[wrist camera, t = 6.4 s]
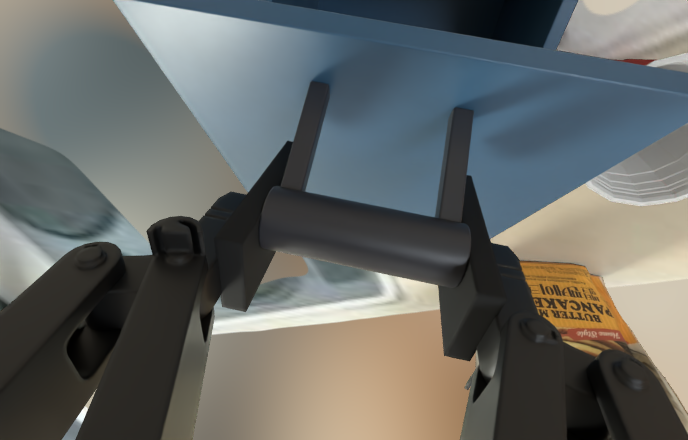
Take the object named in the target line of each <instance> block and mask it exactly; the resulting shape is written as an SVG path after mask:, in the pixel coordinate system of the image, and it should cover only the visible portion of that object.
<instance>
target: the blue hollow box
mask: <svg viewBox="0 0 688 440" xmlns="http://www.w3.org/2000/svg"><path fill="white" fill-rule="evenodd" d="M263 1H269V2H274V3H280V4H286V5H292V6H298V7H304V8H310V9H316V10H322V11H327V12H333V13H339V14H345V15H351V16H357V17H363V18H369V19H375V20H380V21H386V22H392V23H398V24H404V25H410V26H416V27H422V28H428V29H433V30H439V31H445V32H451V33H457V34H463V35H469V36H475V37H480V38H486V39H492V40H498V41H504V42H510V43H516V44H522V45H528V46H533V47H539V48H545V49H551V50H556V49H557V46H558V44H559V42H560V40H561V38H562V35H563V33H564V31H565V29H566V26H567V24H568V22H569V20H570V18H571V15H572V13H573V11H574V9H575V6H576V4H577V2H578V0H263Z"/></svg>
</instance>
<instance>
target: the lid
mask: <svg viewBox="0 0 688 440" xmlns="http://www.w3.org/2000/svg"><path fill="white" fill-rule="evenodd" d="M113 1H114V3H115V4H116V5H117V7H118V8H119V10H120V11H121V13H122V14H123V15H124V17H125V18H126V20H127V21H128V23H129V24H130V25H131V27H132V28H133V29H134V31H135V33H136V34H137V35H138V37H139V38H140V40H141V41H142V43H143V44H144V45H145V47H146V48H147V50H148V51H149V52H150V54H151V55H152V56H153V58H154V60H155V61H156V62H157V64H158V65H159V67H160V68H161V69H162V71H163V72H164V74H165V75H166V77H167V78H168V79H169V81H170V82H171V84H172V85H173V87H174V88H175V90H176V91H177V92H178V94H179V95H180V96H181V98H182V99H183V101H184V102H185V104H186V105H187V107H188V108H189V109H190V111H191V112H192V114H193V115H194V116H195V118H196V119H197V121H198V122H199V124H200V125H201V127H202V128H203V129H204V131H205V132H206V134H207V135H208V137H209V138H210V139H211V141H212V142H213V144H214V145H215V146H216V148H217V149H218V151H219V152H220V153H221V155H222V156H223V158H224V159H225V161H226V162H227V164H228V165H229V166H230V168H231V169H232V171H233V172H234V174H235V175H236V176H237V178H238V179H239V181H240V182H241V184H242V185H243V186H244V188H245V189H246V191H247V192H249V191H250V190H251V188H252V187H253V186H254V184H255V183H256V182H257V180H258V179H259V178H260V176H261V175H262V174H263V172H264V171H265V170H266V168H267V167H268V166H269V165H270V163H271V162H272V161H273V159H274V158H275V157H276V155H277V154H278V153H279V151H280V150H281V149H282V147H283V146H284V145H285V143H286V142H287V141H292V142H293V144H292V148H291V151H290V155H289V158H288V162H287V165H286V169H285V172H284V176H283V179H282V183H281V186H274V187H273V188H272V189H271V190H270V192H269V193H268V195H267V197H266V200H265V202H264V205H263V209H262V212H261V217H260V223H259V243H260V246H261V247H262V248H264V249H268V250H273V251H278V252H283V253H287V254H293V255H297V256H302V257H307V258H311V259H316V260H321V261H326V262H330V263H335V264H340V265H345V266H349V267H354V268H359V269H364V270H369V271H373V272H378V273H383V274H388V275H392V276H397V277H402V278H407V279H411V280H416V281H421V282H426V283H431V284H435V285H440V286H445V287H450V288H455V287H457V286H458V285H459V284H460V283H461V281H462V279H463V277H464V275H465V272H466V269H467V266H468V262H469V257H470V250H471V233H470V229H469V226H468V225H467V224H465V223H461V220H462V211H463V203H464V194H465V185H466V176H467V175H470V176H472V180H473V183H474V187H475V190H476V193H477V197H478V200H479V204H480V207H481V211H482V214H483V217H484V221H485V224H486V228H487V231H488V234H489V238H490V239H491V238H493V237H494V236H496V235H498V234H499V233H501V232H503V231H504V230H506V229H508V228H510V227H511V226H513V225H515V224H516V223H518V222H520V221H522V220H523V219H525V218H527V217H528V216H530V215H532V214H533V213H535V212H537V211H539V210H540V209H542V208H544V207H545V206H547V205H549V204H551V203H552V202H554V201H556V200H557V199H559V198H561V197H562V196H564V195H566V194H568V193H569V192H571V191H573V190H574V189H576V188H578V187H580V186H581V185H583V184H585V183H586V182H588V181H590V180H591V179H593V178H595V177H597V176H598V175H600V174H602V173H603V172H605V171H607V170H609V169H610V168H612V167H614V166H615V165H617V164H619V163H620V162H622V161H624V160H626V159H627V158H629V157H631V156H632V155H634V154H636V153H638V152H639V151H641V150H643V149H644V148H646V147H648V146H649V145H651V144H653V143H655V142H656V141H658V140H660V139H661V138H663V137H665V136H667V135H668V134H670V133H672V132H673V131H675V130H677V129H678V128H680V127H682V126H684V125H685V124H687V123H688V73H687V72H681V71H675V70H669V69H663V68H657V67H651V66H645V65H639V64H634V63H628V62H622V61H616V60H610V59H604V58H598V57H592V56H586V55H581V54H575V53H569V52H563V51H557V50H551V49H545V48H539V47H533V46H528V45H522V44H516V43H510V42H504V41H498V40H492V39H486V38H480V37H475V36H469V35H463V34H457V33H451V32H445V31H439V30H433V29H428V28H422V27H416V26H410V25H404V24H398V23H392V22H386V21H380V20H375V19H369V18H363V17H357V16H351V15H345V14H339V13H333V12H327V11H322V10H316V9H310V8H304V7H298V6H292V5H286V4H280V3H274V2H269V1H263V0H113Z"/></svg>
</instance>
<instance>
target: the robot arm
mask: <svg viewBox="0 0 688 440" xmlns="http://www.w3.org/2000/svg"><path fill="white" fill-rule="evenodd" d="M292 144H293V142H292V141H287V142H286V143H285V145H284V146H283V147H282V149H281V150H280V151H279V153H278V154H277V155H276V157H275V158H274V159H273V161H272V162H271V163H270V165H269V166H268V167H267V168H266V170H265V171H264V172H263V174H262V175H261V176H260V178H259V179H258V180H257V182H256V183H255V184H254V186H253V187H252V188H251V190H250V191H249V192H248V194H247V195H244V194H240V193H235V192H229V193H228V194H226V195H224V196H222V197H220V198H219V199H218V200H217V201H216V202H215V203H214V204H213V206H212V207H211V209H209V210H208V211H207V212H206V214H205V216H203V217H202V218H201V219H200V220H199V222H198V221H197V220H195V219H193V218H190V217H183V216H177V217H169V218H166V219H162V220H159V221H158V222H156V223H154V224H153V225H151V227H150V228H149V229H148V230H147V235H148V238H149V242H150V246H151V250H152V254H153V255H146V256H122V253H121V250H120V249H119V248H118V247H117V246H116V245H115V244H112V243H109V242H94V243H88V244H84V245H82V246H79V247H77V248H74V249H73V250H71V251H70V252H68V253H67V254H65V255H64V256H63V257H62V258H61V259H60V260H59V261H57V262H56V263H55V264H54V265H53V266H52V267H51V268H50V269H49V270H47V271H46V272H45V273H44V274H43V275H42V276H41V277H40V278H38V279H37V280H36V281H35V282H34V283H33V284H32V285H31V286H29V287H28V288H27V289H26V290H25V291H24V292H23V293H22V294H21V295H19V296H18V297H17V298H16V299H15V300H14V301H13V302H12V303H10V304H9V305H8V306H7V307H6V308H5V309H4V310H3V311H1V312H0V440H62V438H63V437H64V435H65V434H66V432H67V431H68V430H69V428H70V427H71V425H72V424H73V422H74V421H75V419H76V418H77V416H78V415H79V414H80V412H81V411H82V409H83V408H84V406H85V405H86V403H87V402H88V400H89V399H90V397H91V396H92V395H93V393H94V392H95V390H96V389H97V390H96V392H95V394H94V397H93V399H92V402H91V404H90V406H89V409H88V411H87V413H86V416H85V418H84V421H83V423H82V425H81V428H80V430H79V433H78V435H77V437H76V440H192V439H193V433H194V428H195V423H196V417H197V412H198V406H199V401H200V395H201V389H202V384H203V378H204V373H205V367H206V361H207V356H208V350H209V345H210V340H211V334H212V328H213V323H214V317H215V316H214V305H215V304H216V302H217V300H218V299H219V297H220V295H221V302H222V307H225V308H230V309H235V310H239V311H244V312H246V311H247V309H248V307H249V305H250V303H251V301H252V299H253V297H254V295H255V293H256V291H257V289H258V287H259V285H260V283H261V281H262V278H263V277H264V274H265V273H266V270H267V268H268V266H269V264H270V262H271V260H272V258H273V256H274V254H275V252H276V251H273V250H268V249H264V248H262V247H261V246H260V243H259V223H260V217H261V212H262V209H263V205H264V202H265V200H266V197H267V195H268V193H269V192H270V190H271V189H272V188H273V187H274V186H281V183H282V179H283V176H284V172H285V169H286V165H287V162H288V158H289V155H290V151H291V148H292ZM461 223H465V224H467V225H468V226H469V229H470V233H471V250H470V257H469V262H468V266H467V269H466V272H465V275H464V277H463V279H462V281H461V283H460V284H459V285H458V286H457V287H455V288H450V287H445V286H440V285H438V288H439V300H440V312H441V325H442V336H443V349H444V356H449V357H452V358H457V359H462V360H467V361H470V360H471V358H472V357H473V355H474V354H475V352H476V350H477V354H478V360H479V365H478V366H477V368H476V369H475V371H474V373H473V374H472V376H471V377H470V379H469V380H468V382H467V384H466V386H465V389H467V390H468V389H469V388H470V386H471V388H470V393H469V398H468V403H467V407H466V413H465V417H464V422H463V427H462V432H461V437H460V440H688V433H687V431H686V429H685V428H684V426H683V424H682V422H681V420H680V418H679V416H678V415H677V413H676V411H675V409H674V407H673V405H672V404H671V402H670V400H669V398H668V396H667V394H666V393H665V391H664V389H663V387H662V385H661V383H660V382H659V380H658V379H657V378H656V376H655V375H654V373H653V372H652V371H651V370H650V369H649V368H648V367H646V366H645V365H644V364H643V363H642V362H641V361H639V360H638V359H636V358H634V357H633V356H631V355H629V354H627V353H624V352H622V351H619V350H613V349H607V350H605V351H602V352H601V353H600V354H599V355H598V356H597V357H595V356H592V355H590V354H588V353H586V352H584V351H582V350H579V349H577V348H575V347H573V346H571V345H569V344H567V343H565V342H563V340H562V336H561V334H560V333H559V331H558V330H557V328H556V327H555V326H554V325H553V324H552V323H551V322H550V321H548V320H547V319H546V318H544V317H542V316H540V315H539V313H538V310H537V308H536V305H535V302H534V300H533V297H532V294H531V291H530V289H529V286H528V283H527V281H525V280H526V278H525V275H524V273H523V271H522V267H521V265H520V262H519V259H518V257H517V256H516V255H515V254H514V253H513V252H512V250H511V249H510V248H509V247H508V246H503V245H498V244H493V243H491V241H490V238H489V234H488V231H487V228H486V224H485V221H484V217H483V214H482V211H481V207H480V204H479V200H478V197H477V193H476V190H475V187H474V183H473V180H472V176H470V175H467V176H466V185H465V194H464V203H463V211H462V220H461Z"/></svg>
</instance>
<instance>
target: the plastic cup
mask: <svg viewBox="0 0 688 440" xmlns="http://www.w3.org/2000/svg"><path fill="white" fill-rule="evenodd" d="M616 61H622V62H628V63H634V64H639V65H645V66H651V67H657V68H663V69H669V70H675V71H681V72H687V73H688V53H684V54H680V55H676V56H672V57H668V58H664V59H660V60H642V59H625V60H616ZM585 184H586V185H587V187H588V188H589V189H591V190H592V191H594V192H596V193H597V194H599V195H601V196H602V197H604V198H606V199H607V200H609V201H612V202H618V203H624V204H630V205H636V206H647V205H655V204H663V203H671V202H677V201H679V200H682V199H685V198H687V197H688V123H687V124H685V125H684V126H682V127H680V128H678V129H677V130H675V131H673V132H672V133H670V134H668V135H667V136H665V137H663V138H661V139H660V140H658V141H656V142H655V143H653V144H651V145H649V146H648V147H646V148H644V149H643V150H641V151H639V152H638V153H636V154H634V155H632V156H631V157H629V158H627V159H626V160H624V161H622V162H620V163H619V164H617V165H615V166H614V167H612V168H610V169H609V170H607V171H605V172H603V173H602V174H600V175H598V176H597V177H595V178H593V179H591V180H590V181H588V182H586V183H585Z"/></svg>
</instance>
